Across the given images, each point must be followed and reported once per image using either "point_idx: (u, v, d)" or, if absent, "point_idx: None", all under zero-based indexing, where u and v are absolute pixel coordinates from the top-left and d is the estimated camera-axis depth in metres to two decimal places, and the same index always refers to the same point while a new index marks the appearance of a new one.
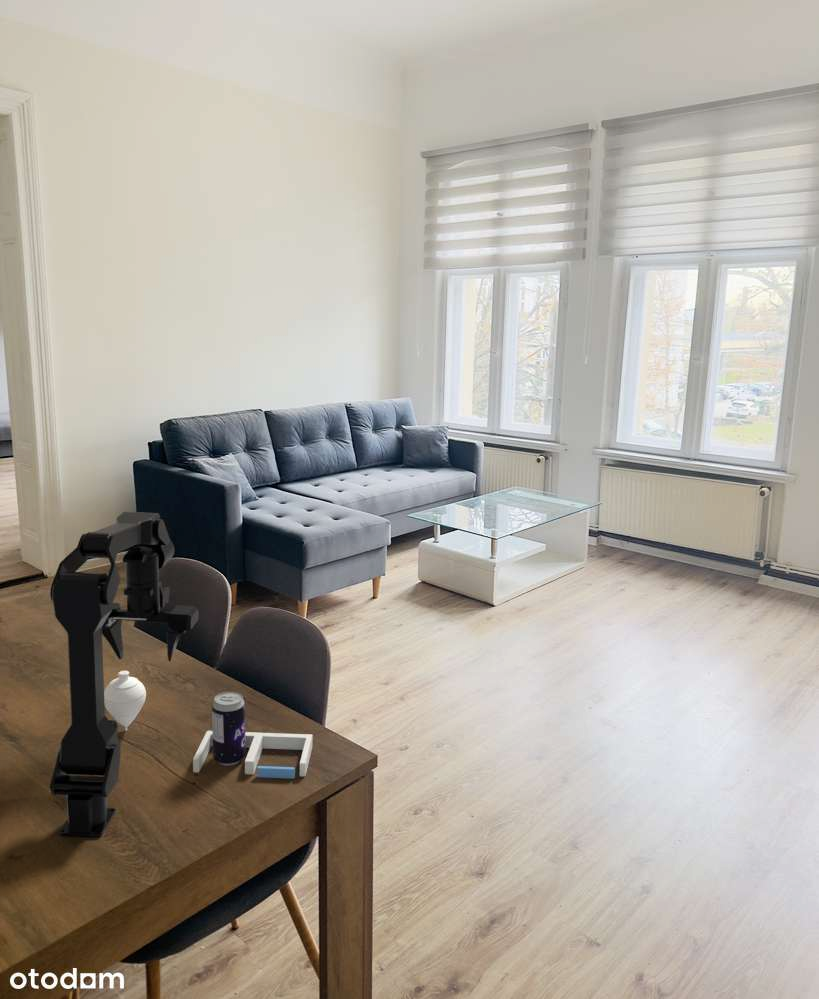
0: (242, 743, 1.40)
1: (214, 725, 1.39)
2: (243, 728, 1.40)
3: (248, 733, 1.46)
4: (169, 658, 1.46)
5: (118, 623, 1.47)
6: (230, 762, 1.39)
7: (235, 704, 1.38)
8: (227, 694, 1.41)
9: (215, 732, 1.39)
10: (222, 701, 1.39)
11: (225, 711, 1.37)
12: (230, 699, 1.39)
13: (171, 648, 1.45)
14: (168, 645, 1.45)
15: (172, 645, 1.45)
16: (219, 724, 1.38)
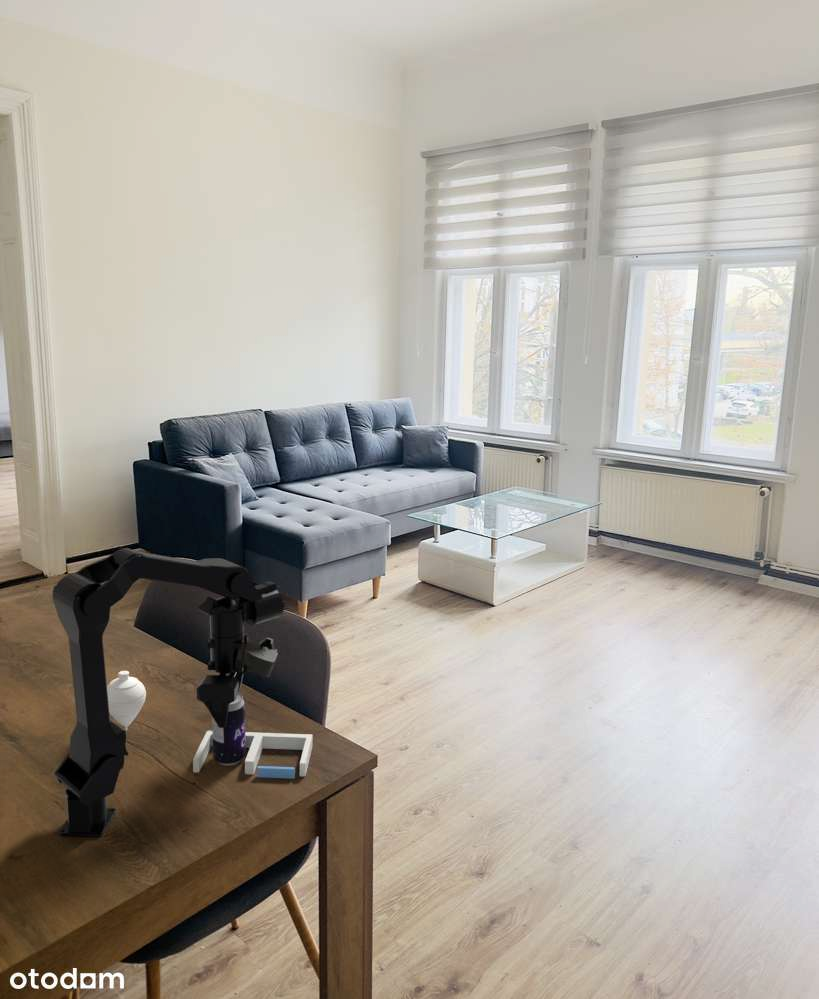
0: (242, 743, 1.40)
1: (214, 725, 1.39)
2: (243, 728, 1.40)
3: (248, 733, 1.46)
4: None
5: None
6: (230, 762, 1.39)
7: (235, 704, 1.38)
8: None
9: (215, 732, 1.39)
10: None
11: None
12: None
13: (210, 712, 1.34)
14: None
15: (208, 709, 1.34)
16: None
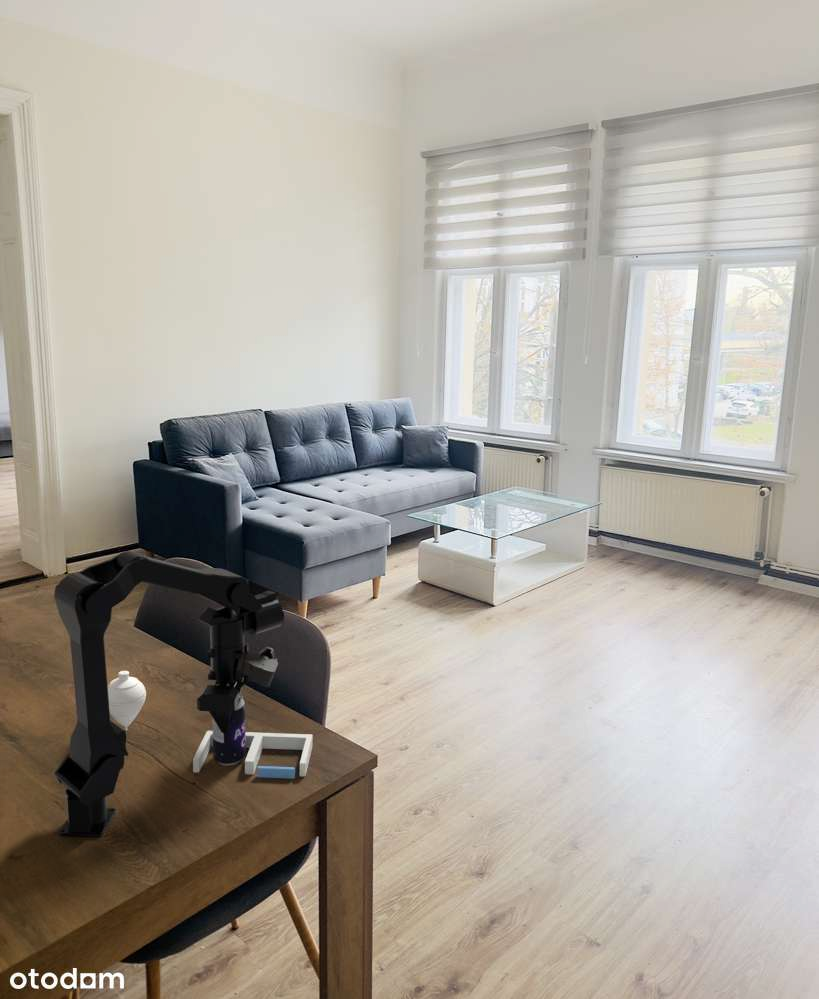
0: (242, 743, 1.40)
1: (214, 725, 1.39)
2: (243, 728, 1.40)
3: (248, 733, 1.46)
4: None
5: None
6: (230, 762, 1.39)
7: None
8: None
9: (215, 732, 1.39)
10: None
11: None
12: None
13: None
14: None
15: (211, 714, 1.36)
16: None
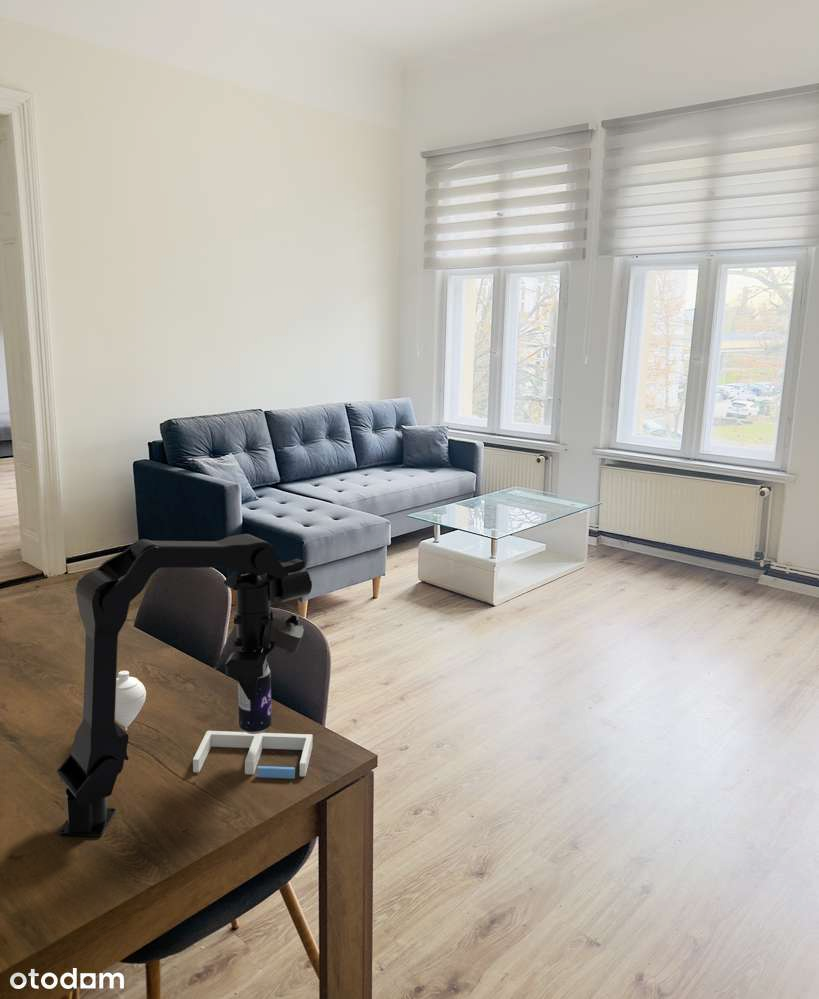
0: (269, 711, 1.39)
1: (240, 693, 1.37)
2: (269, 696, 1.39)
3: (248, 733, 1.46)
4: None
5: None
6: (257, 730, 1.38)
7: None
8: None
9: (242, 700, 1.37)
10: None
11: None
12: None
13: None
14: None
15: (238, 681, 1.34)
16: None
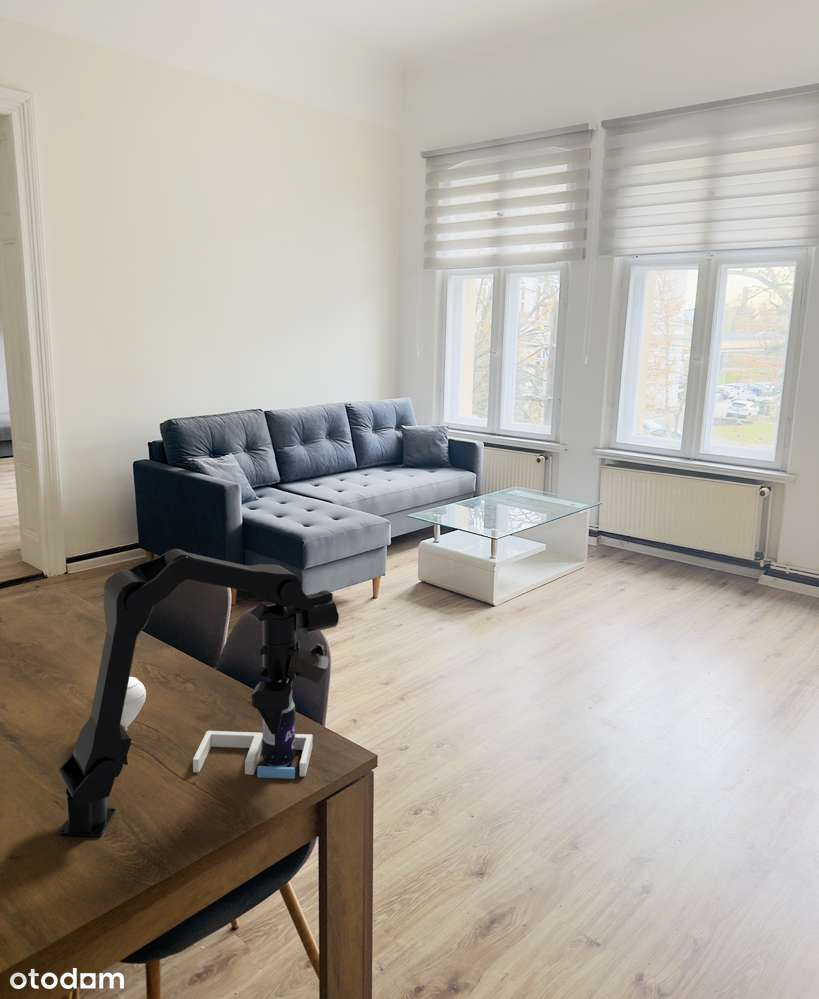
0: (292, 745, 1.40)
1: (265, 727, 1.38)
2: (293, 730, 1.40)
3: (248, 733, 1.46)
4: None
5: None
6: (281, 764, 1.39)
7: None
8: None
9: (266, 735, 1.39)
10: None
11: None
12: None
13: (264, 719, 1.34)
14: None
15: (262, 716, 1.34)
16: None
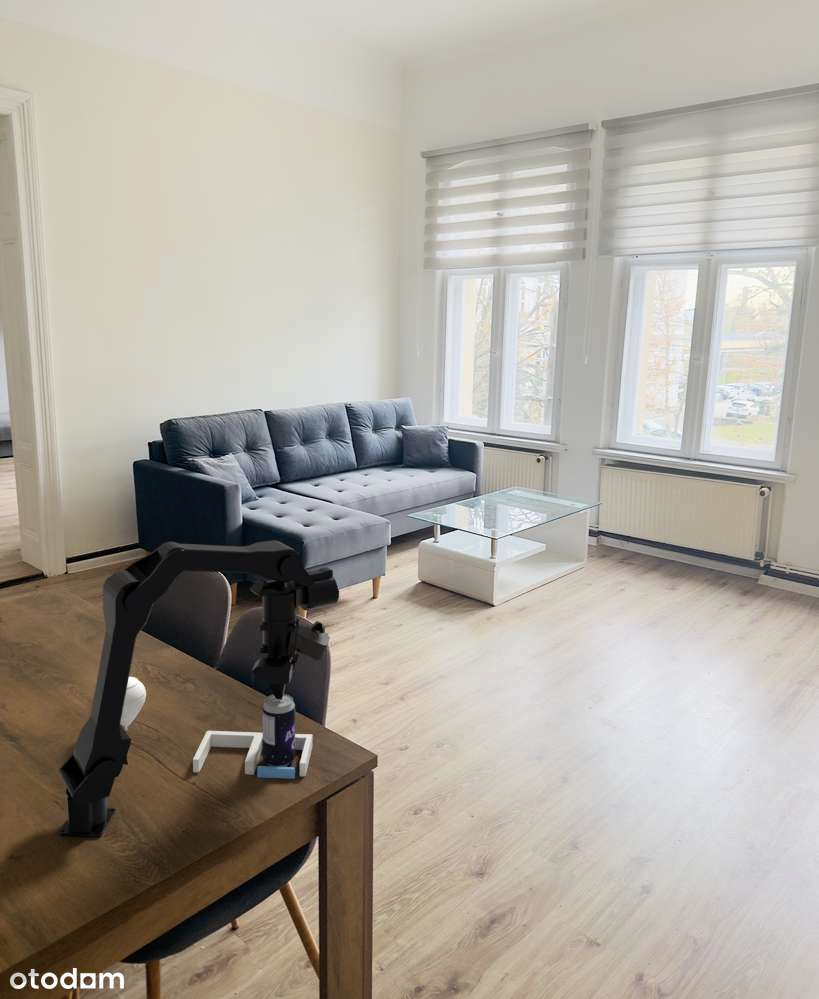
0: (292, 745, 1.40)
1: (265, 727, 1.39)
2: (293, 730, 1.40)
3: (248, 733, 1.46)
4: None
5: None
6: (281, 764, 1.39)
7: (286, 706, 1.38)
8: None
9: (266, 734, 1.39)
10: (273, 703, 1.39)
11: (277, 713, 1.37)
12: (281, 701, 1.39)
13: (268, 684, 1.38)
14: None
15: None
16: (270, 726, 1.38)
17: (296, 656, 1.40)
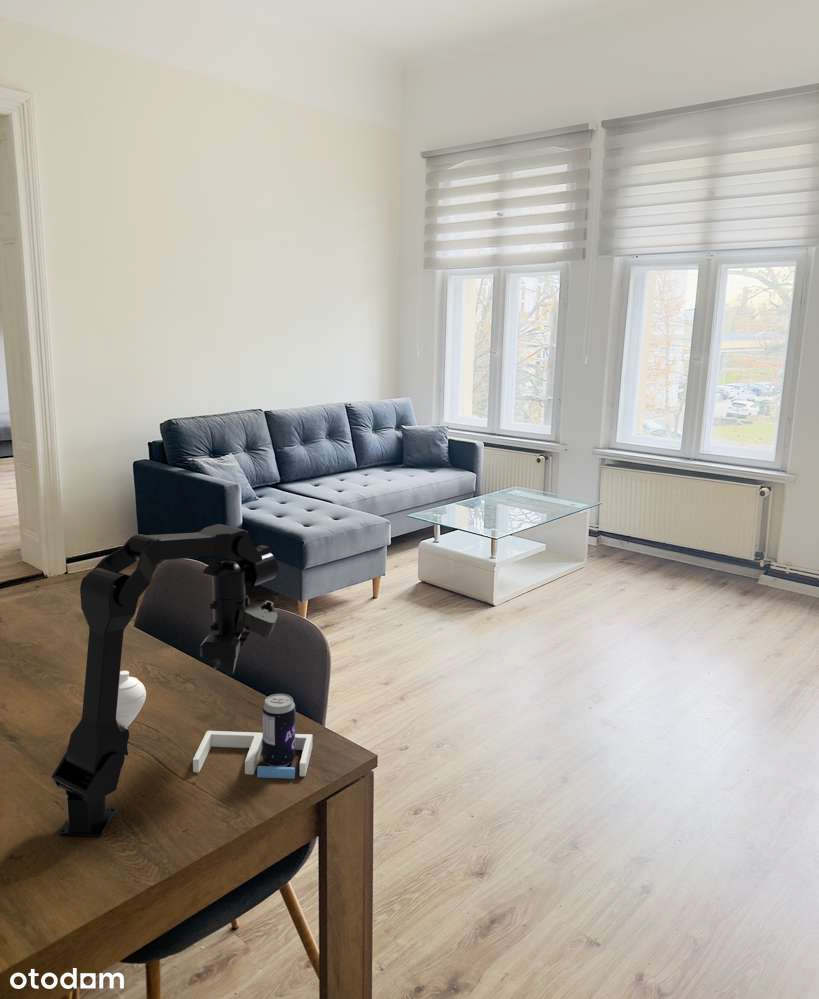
0: (292, 745, 1.40)
1: (265, 727, 1.38)
2: (293, 730, 1.40)
3: (248, 733, 1.46)
4: None
5: None
6: (281, 764, 1.39)
7: (286, 706, 1.38)
8: (277, 696, 1.41)
9: (266, 734, 1.39)
10: (273, 703, 1.39)
11: (277, 713, 1.37)
12: (281, 701, 1.39)
13: None
14: None
15: None
16: (270, 726, 1.38)
17: (247, 634, 1.47)
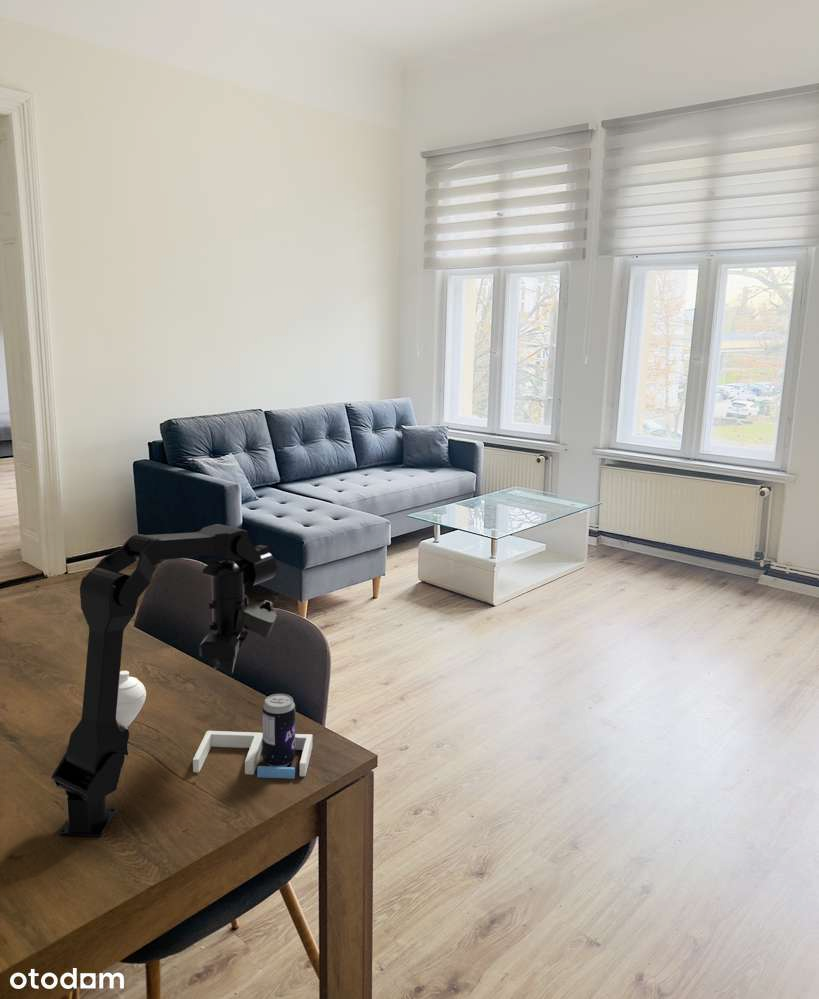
0: (292, 745, 1.40)
1: (265, 727, 1.38)
2: (293, 730, 1.40)
3: (248, 733, 1.46)
4: None
5: None
6: (281, 764, 1.39)
7: (286, 706, 1.38)
8: (277, 696, 1.41)
9: (266, 734, 1.39)
10: (273, 703, 1.39)
11: (277, 713, 1.37)
12: (281, 701, 1.39)
13: (218, 659, 1.45)
14: None
15: None
16: (270, 726, 1.38)
17: (245, 633, 1.47)
